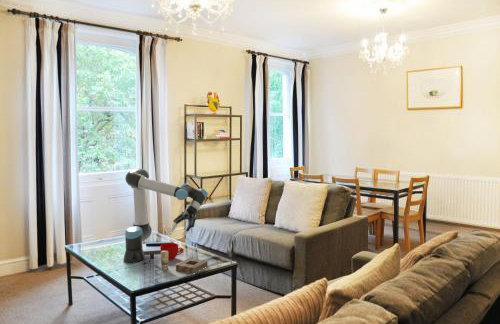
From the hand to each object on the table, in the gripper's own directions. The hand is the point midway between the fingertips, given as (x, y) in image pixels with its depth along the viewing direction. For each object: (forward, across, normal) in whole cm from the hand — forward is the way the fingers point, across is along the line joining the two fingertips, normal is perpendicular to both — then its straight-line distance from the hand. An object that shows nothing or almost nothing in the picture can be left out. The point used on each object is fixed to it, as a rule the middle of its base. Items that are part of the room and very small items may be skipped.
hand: (177, 233), depth 293 cm
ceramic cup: (+13, +13, -20) cm, 27 cm away
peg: (+24, +1, -8) cm, 25 cm away
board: (+15, -12, -18) cm, 26 cm away
